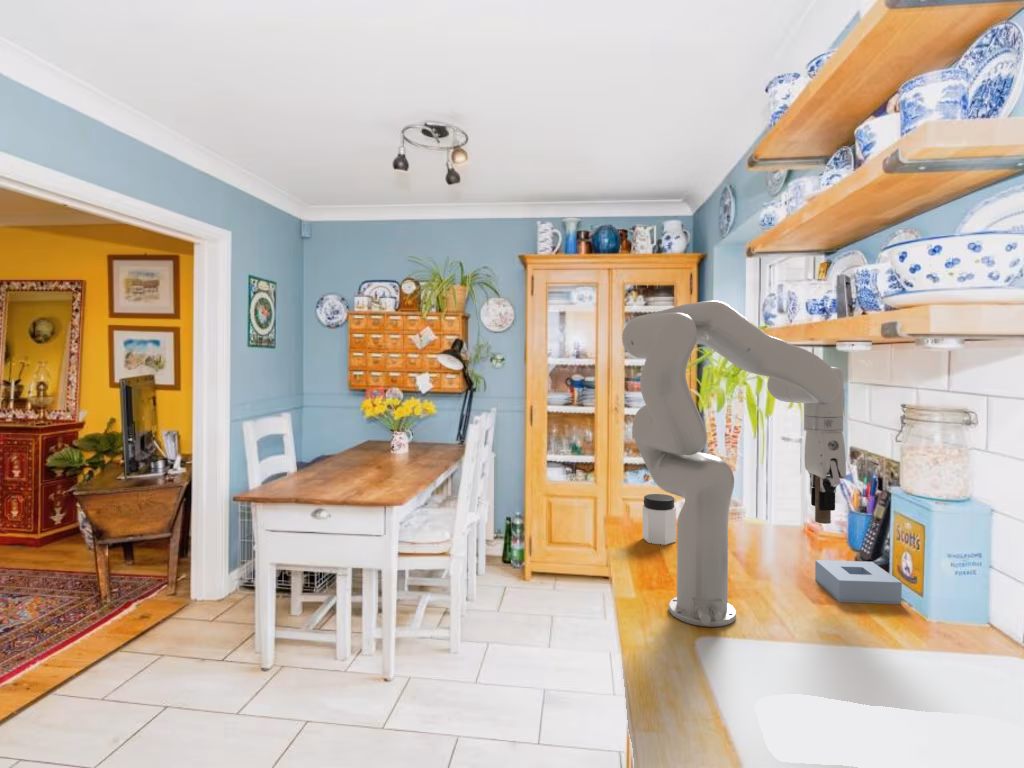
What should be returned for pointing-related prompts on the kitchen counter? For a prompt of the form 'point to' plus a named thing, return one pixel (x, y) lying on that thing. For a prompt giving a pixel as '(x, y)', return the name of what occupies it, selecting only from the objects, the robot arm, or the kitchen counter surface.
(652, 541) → the jar
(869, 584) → the hole block
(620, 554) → the kitchen counter surface
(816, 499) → the peg
